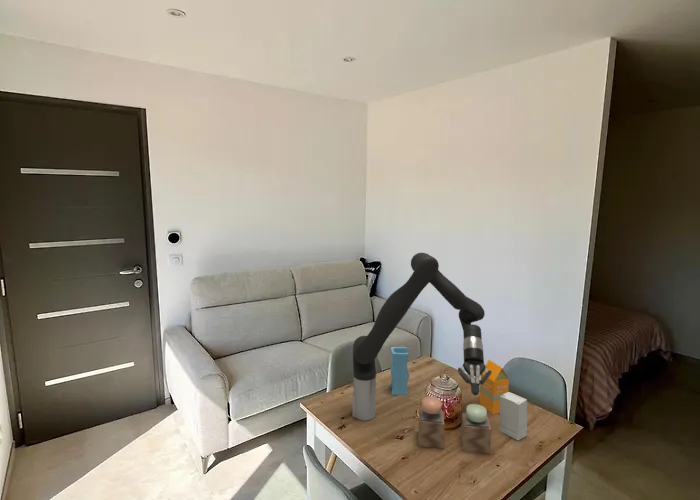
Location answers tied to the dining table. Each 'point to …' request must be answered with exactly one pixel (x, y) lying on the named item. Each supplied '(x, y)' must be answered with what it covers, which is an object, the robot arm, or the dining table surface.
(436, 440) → the pillar
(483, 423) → the pillar
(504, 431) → the skincare box
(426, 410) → the terracotta button
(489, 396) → the orange juice
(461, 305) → the robot arm
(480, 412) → the sage button
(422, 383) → the dining table surface
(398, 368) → the vase
